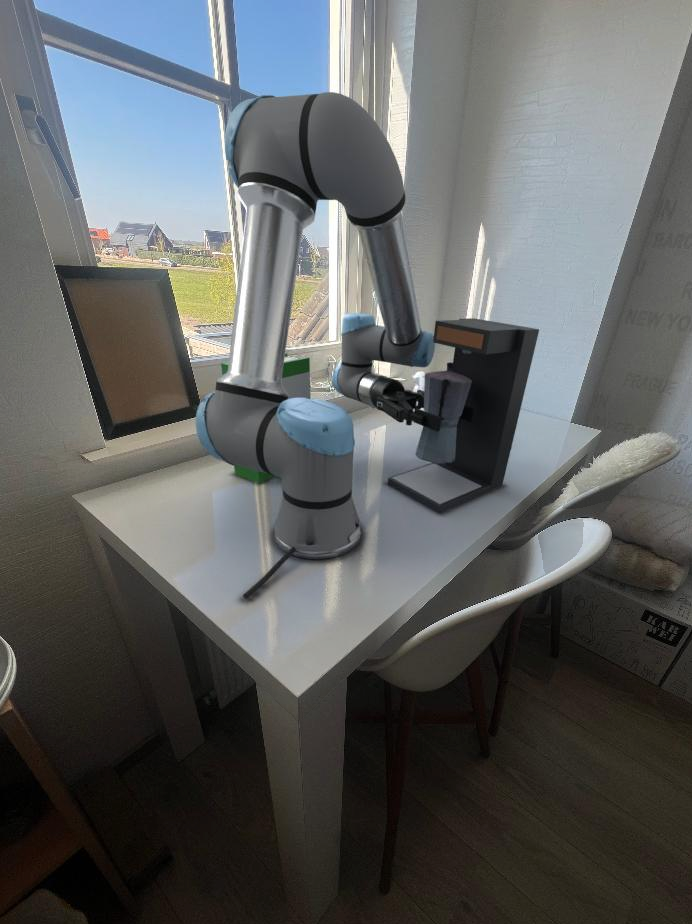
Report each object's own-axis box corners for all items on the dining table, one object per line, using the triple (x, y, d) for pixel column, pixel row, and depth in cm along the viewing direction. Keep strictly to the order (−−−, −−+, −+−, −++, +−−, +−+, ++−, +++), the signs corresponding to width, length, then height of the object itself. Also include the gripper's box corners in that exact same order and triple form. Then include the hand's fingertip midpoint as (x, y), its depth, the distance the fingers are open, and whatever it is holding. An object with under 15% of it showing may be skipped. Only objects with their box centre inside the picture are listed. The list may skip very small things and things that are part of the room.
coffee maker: (439, 513, 85) (468, 334, 68) (387, 483, 95) (400, 320, 78) (502, 485, 98) (539, 329, 81) (450, 462, 108) (473, 318, 91)
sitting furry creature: (431, 403, 154) (436, 369, 147) (431, 410, 146) (436, 375, 140) (406, 400, 154) (409, 367, 148) (404, 407, 147) (408, 372, 141)
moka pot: (457, 448, 98) (473, 359, 88) (457, 475, 85) (476, 374, 75) (417, 443, 99) (428, 354, 89) (411, 469, 86) (423, 368, 75)
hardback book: (289, 451, 107) (284, 352, 95) (311, 458, 104) (309, 357, 92) (235, 474, 94) (221, 363, 82) (258, 483, 91) (247, 369, 79)
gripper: (414, 402, 106) (486, 427, 93) (343, 416, 93) (416, 449, 79) (417, 371, 102) (493, 393, 89) (344, 382, 89) (420, 410, 75)
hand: (457, 419), depth 84 cm, fingers closed on moka pot, 10 cm apart
